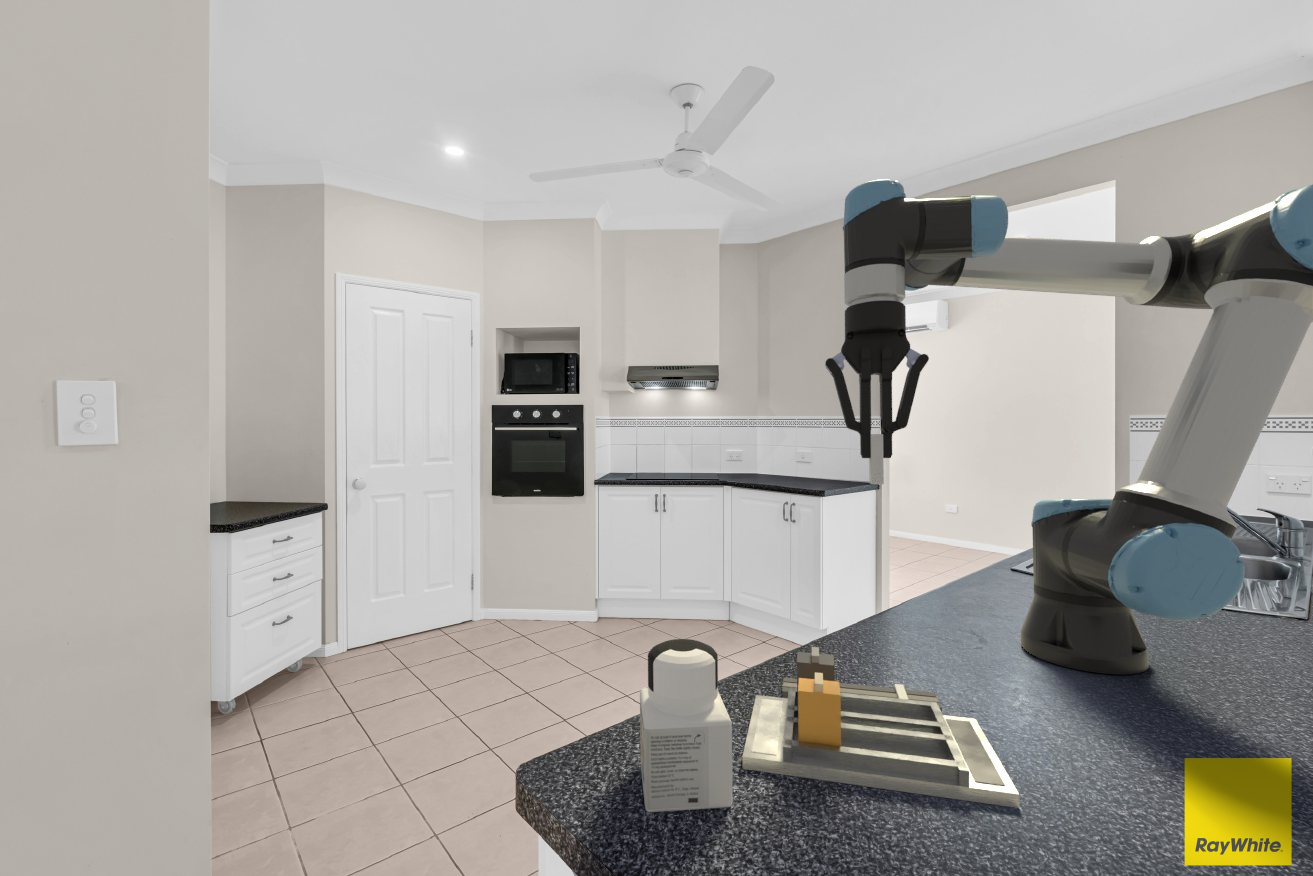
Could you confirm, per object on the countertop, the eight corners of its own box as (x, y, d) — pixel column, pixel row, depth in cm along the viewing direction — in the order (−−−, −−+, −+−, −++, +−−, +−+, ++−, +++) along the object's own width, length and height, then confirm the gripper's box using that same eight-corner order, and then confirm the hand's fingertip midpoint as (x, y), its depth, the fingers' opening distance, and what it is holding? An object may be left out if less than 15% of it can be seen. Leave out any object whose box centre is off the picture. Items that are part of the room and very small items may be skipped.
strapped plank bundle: (933, 700, 70) (933, 687, 70) (942, 719, 65) (942, 705, 65) (784, 685, 75) (784, 673, 75) (782, 702, 70) (782, 689, 70)
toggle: (833, 707, 66) (833, 648, 66) (834, 720, 63) (834, 658, 63) (798, 703, 67) (797, 645, 67) (797, 716, 64) (796, 655, 64)
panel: (975, 729, 63) (975, 706, 63) (1019, 808, 50) (1019, 778, 50) (756, 705, 70) (756, 683, 70) (742, 768, 56) (742, 742, 56)
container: (640, 764, 57) (639, 634, 57) (716, 760, 58) (715, 631, 58) (645, 814, 49) (644, 664, 49) (733, 809, 50) (732, 660, 50)
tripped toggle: (839, 740, 59) (838, 674, 59) (841, 757, 55) (840, 687, 55) (799, 735, 60) (798, 670, 60) (798, 751, 56) (798, 682, 57)
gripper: (922, 307, 77) (924, 482, 77) (822, 314, 81) (824, 481, 81) (934, 294, 70) (936, 486, 70) (823, 301, 74) (825, 485, 74)
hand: (876, 483), depth 75 cm, fingers closed
